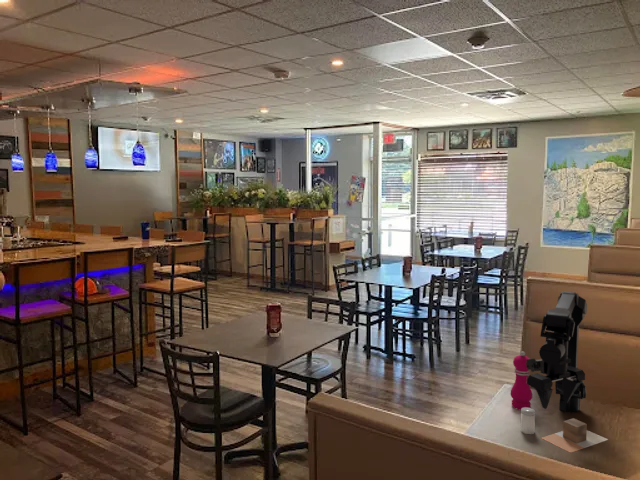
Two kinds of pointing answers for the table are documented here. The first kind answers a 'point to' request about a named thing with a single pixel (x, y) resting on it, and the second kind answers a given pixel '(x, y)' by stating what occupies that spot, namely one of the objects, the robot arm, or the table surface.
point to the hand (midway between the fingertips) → (555, 405)
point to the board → (571, 446)
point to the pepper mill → (521, 383)
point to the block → (574, 430)
